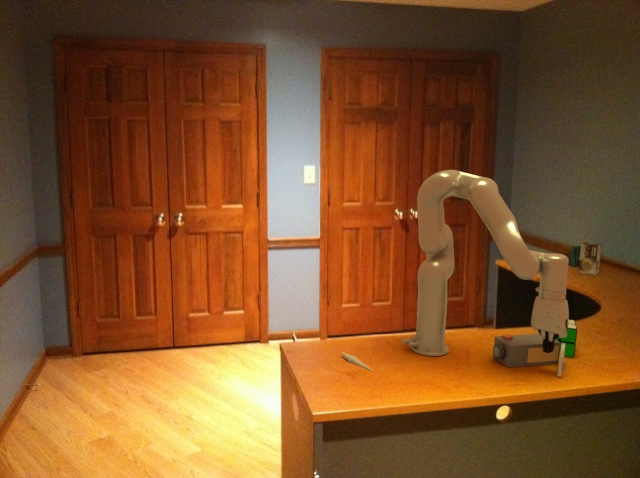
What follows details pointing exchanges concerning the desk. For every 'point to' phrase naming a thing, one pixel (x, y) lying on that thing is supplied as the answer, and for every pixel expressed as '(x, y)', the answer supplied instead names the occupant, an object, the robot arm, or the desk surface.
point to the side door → (561, 359)
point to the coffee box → (590, 258)
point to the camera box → (523, 350)
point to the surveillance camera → (574, 255)
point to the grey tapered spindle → (355, 361)
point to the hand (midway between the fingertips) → (547, 351)
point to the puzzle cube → (569, 340)
